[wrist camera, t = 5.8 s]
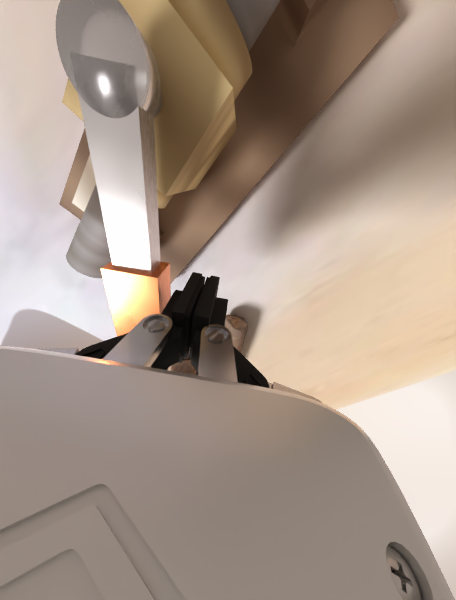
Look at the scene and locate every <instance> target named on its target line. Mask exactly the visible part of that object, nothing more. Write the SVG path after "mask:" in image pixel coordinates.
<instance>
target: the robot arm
mask: <svg viewBox="0 0 456 600" xmlns="http://www.w3.org/2000/svg"><path fill="white" fill-rule="evenodd" d="M219 278H220V277H216V276H211V277H210V278H209V277H207V279H206V282H205V277H203V276H202V274H200V273H195V272H193V273H192V275H191V277H190V278H189V280H188V282H187V284H186V286H185V288H184V290H183V291H179V290H175V292H174V293H173V295H172V296H171V298H170V300H169V301H168V303H167V305H166V306H165V308H164V310H163V311H162V313H161V314H152V315H149V316H146V317H145V318H143V319H142V320H141V321H140V322H139V323H138V324H137V325H136V326H135V327H134V328H133V329H132V330H131V331H130V332H129V333H126V334H123V335H120V336H118V337H115V338H112V339H109V340H106V341H103V342H100V343H97V344H94V345H91V346H89V347H86V348H85V349H82V350H81V351H79V350H78V349H77V348H73V349H72V348H71V349H30V348H21V347H10V346H0V600H455V599H454V597H453V595H452V593H451V591H450V588H449V587H448V584H447V582H446V580H445V578H444V576H443V574H442V572H441V570H440V568H439V566H438V564H437V562H436V560H435V557H434V555H433V553H432V551H431V549H430V547H429V545H428V543H427V541H426V539H425V537H424V535H423V533H422V531H421V529H420V527H419V525H418V524H417V521H416V519H415V517H414V515H413V513H412V512H411V509H410V508H409V506H408V504H407V502H406V500H405V498H404V496H403V494H402V492H401V490H400V488H399V486H398V485H397V483H396V481H395V479H394V477H393V475H392V473H391V472H390V470H389V468H388V466H387V465H386V463H385V461H384V460H383V458H382V456H381V454H380V453H379V451H378V450H377V448H376V447H375V445H374V444H373V442H372V441H371V440H370V438H369V437H368V436H367V434H366V433H365V432H364V431H363V430H362V429H361V428H360V427H359V426H358V425H357V424H356V423H354V422H353V421H352V420H350V419H349V418H348V417H346V416H345V415H343V414H342V413H340V412H338V411H336V410H335V409H333V408H331V407H329V406H327V405H325V404H323V403H322V402H321V401H319V400H318V399H316V398H314V397H311V396H309V395H306V394H304V393H301V392H299V391H296V390H293V389H291V388H288V387H286V386H283V385H281V384H278V383H276V382H274V383H273V384H271V383H269V382H267V380H266V378H265V377H264V376H263V375H262V374H261V373H260V372H259V371H258V370H257V369H256V368H255V367H254V366H253V365H252V364H251V363H250V362H249V361H248V360H247V359H246V358H245V357H244V356H243V355H242V354H241V353H240V352H239V351H238V350H237V349H236V348H235V347H234V346H233V341H232V335H231V332H230V331H229V329H227V328H226V327H225V319H226V311H227V304H228V299H222V298H217V291H218V285H219ZM204 282H205V284H204ZM189 350H190V358H191V365H192V366H193V368H194V369H195V370H196V375H192V374H186V373H180V372H175V371H171V369H172V365H174V364H176V363H177V362H180V363H182V360H183V357H187V356H188V353H189Z"/></svg>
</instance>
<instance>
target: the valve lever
mask: <svg viewBox="0 0 456 600" xmlns="http://www.w3.org/2000/svg"><path fill="white" fill-rule="evenodd" d="M56 38H57V45H58V50H59V54H60V58H61V61H62V64H63V67H64V69H65V71H66V74H67V76H68V78H69V80H70V82H71V83H72V85H73V87H74V88H75V90H76V91H77V93H78V96H79V101H80V106H81V111H82V116H83V121H84V126H85V131H86V136H87V141H88V146H89V151H90V156H91V160H92V165H93V170H94V175H95V180H96V185H97V190H98V195H99V200H100V205H101V210H102V215H103V220H104V224H105V229H106V234H107V239H108V244H109V249H110V254H111V259H112V262H110V263H108V264H107V265H105V266H104V267H102V268H101V272H102V276H103V280H104V284H105V289H106V293H107V297H108V301H109V305H110V309H111V313H112V317H113V321H114V325H115V329H116V333H117V337H118V336H120V335H123V334H126V333H129V332H130V331H131V330H132V329H133V328H134V327H135V326H136V325H137V324H138V323H139V322H140V321H141V320H142V319H143V318H145V317H146V316H149V315H152V314H161V313H162V311H163V310H164V308H165V306H166V305H167V303H168V301H169V300H170V298H171V293H170V263H166V262H161V261H160V240H159V219H158V197H157V176H156V155H155V134H154V115H155V113H156V111H157V109H158V106H159V103H160V97H161V78H160V72H159V68H158V64H157V61H156V58H155V55H154V53H153V51H152V49H151V47H150V45H149V43H148V42H147V40H146V39H145V37H144V36H143V34H142V33H141V31H140V30H139V29H138V27H137V26H136V24H135V23H134V21H133V20H132V18H131V17H130V15H129V14H128V13H127V11H126V10H125V8H124V7H123V5H122V4H121V3H120V2H119V1H118V0H60V3H59V6H58V10H57V15H56Z"/></svg>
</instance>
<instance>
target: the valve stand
mask: <svg viewBox="0 0 456 600" xmlns="http://www.w3.org/2000/svg"><path fill="white" fill-rule="evenodd" d="M118 1H119V2H120V3H121V4H122V5H123V7H124V8H125V10H126V11H127V13H128V14H129V15H130V17H131V18H132V20H133V21H134V23H135V24H136V26H137V27H138V29H139V30H140V31H141V33H142V34H143V36H144V37H145V39H146V40H147V42H148V43H149V45H150V47H151V49H152V51H153V53H154V55H155V58H156V61H157V64H158V68H159V72H160V78H161V97H160V103H159V106H158V109H157V111H156V113H155V115H154V134H155V155H156V176H157V197H158V219H159V240H160V261H161V262H166V263H170V284H171V283H172V282H173V281H174V279H175V278H176V277H177V276H178V275H179V274H180V272H181V271H182V270H183V269H184V268H185V267H186V265H187V264H188V263H189V262H190V261H191V260H192V258H193V257H194V256H195V255H196V254H197V253H198V251H199V250H200V249H201V248H202V247H203V246H204V244H205V243H206V242H207V241H208V240H209V239H210V237H211V236H212V235H213V234H214V233H215V232H216V230H217V229H218V228H219V227H220V226H221V225H222V223H223V222H224V221H225V220H226V219H227V218H228V216H229V215H230V214H231V213H232V212H233V211H234V209H235V208H236V207H237V206H238V205H239V204H240V202H241V201H242V200H243V199H244V198H245V197H246V195H247V194H248V193H249V192H250V191H251V190H252V188H253V187H254V186H255V185H256V184H257V183H258V181H259V180H260V179H261V178H262V177H263V176H264V174H265V173H266V172H267V171H268V170H269V169H270V167H271V166H272V165H273V164H274V163H275V162H276V160H277V159H278V158H279V157H280V156H281V155H282V153H283V152H284V151H285V150H286V149H287V148H288V146H289V145H290V144H291V143H292V142H293V141H294V139H295V138H296V137H297V136H298V135H299V134H300V132H301V131H302V130H303V129H304V128H305V127H306V126H307V124H308V123H309V122H310V121H311V120H312V119H313V117H314V116H315V115H316V114H317V113H318V112H319V110H320V109H321V108H322V107H323V106H324V105H325V103H326V102H327V101H328V100H329V99H330V98H331V96H332V95H333V94H334V93H335V92H336V91H337V89H338V88H339V87H340V86H341V85H342V84H343V82H344V81H345V80H346V79H347V78H348V77H349V75H350V74H351V73H352V72H353V71H354V70H355V68H356V67H357V66H358V65H359V64H360V63H361V61H362V60H363V59H364V58H365V57H366V56H367V54H368V53H369V52H370V51H371V50H372V49H373V47H374V46H375V45H376V44H377V43H378V42H379V40H380V39H381V38H382V37H383V36H384V35H385V33H386V32H387V31H388V30H389V29H390V28H391V26H392V25H393V24H394V23H395V22H396V21H397V19H398V18H399V17H398V14H397V11H396V9H395V6H394V3H393V1H392V0H118ZM62 102H63V103H64V104H65V105H66V106H67V107H68V108H69V109H70V110H71V111H72V112H73V113H75V114H76V115H77V116H78V117H79V118H80V119H81V120H82V121H83V116H82V111H81V106H80V101H79V96H78V93H77V91H76V90H75V88H74V87H73V85H72V83H71V82H70V80H69V78H68V82H67V86H66V89H65V93H64V97H63V101H62ZM83 122H84V121H83ZM60 205H61V206H63V207H64V208H65V209H67V210H68V211H69V212H71V213H72V214H74V215H75V216H76V217H78V218H79V219H80V220H81V221H80V223H79V226H78V228H77V231H76V233H75V235H74V238H73V240H72V243H71V245H70V247H69V250H68V252H67V255H66V259H67V261H68V263H69V264H70V265H71V267H73V268H74V269H75V270H76V271H78V272H80V273H82V274H84V275H86V276H89V277H93V278H103V276H102V272H101V268H102V267H104V266H105V265H107V264H108V263H110V262H112V259H111V254H110V249H109V244H108V239H107V234H106V229H105V224H104V220H103V215H102V210H101V205H100V200H99V195H98V190H97V185H96V180H95V175H94V170H93V165H92V160H91V156H90V151H89V146H88V141H87V136H86V131H85V129H84V132H83V135H82V138H81V141H80V144H79V147H78V150H77V153H76V156H75V159H74V162H73V165H72V168H71V171H70V174H69V177H68V180H67V183H66V186H65V189H64V192H63V195H62V198H61V201H60Z"/></svg>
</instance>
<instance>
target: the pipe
mask: <svg viewBox="0 0 456 600" xmlns="http://www.w3.org/2000/svg"><path fill="white" fill-rule="evenodd" d="M225 327H226V328H227V329H229V331H230V332H231V335H232V341H233V346H234V347H235V348H236V349H237V350H238V351H239V352H240V351H241V348H242V345H243V342H244V338H245V335H246V331H247V328H248V325H247V323H246V322H245V321H244V319H242V318H239V317H235V316H231V315H226V319H225ZM171 371H175V372H180V373H186V374H192V375H196V370H195V369H194V368H193V366H192V365H191V360H182V363H180V362H177V363H176V364H174V365H172V369H171Z"/></svg>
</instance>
